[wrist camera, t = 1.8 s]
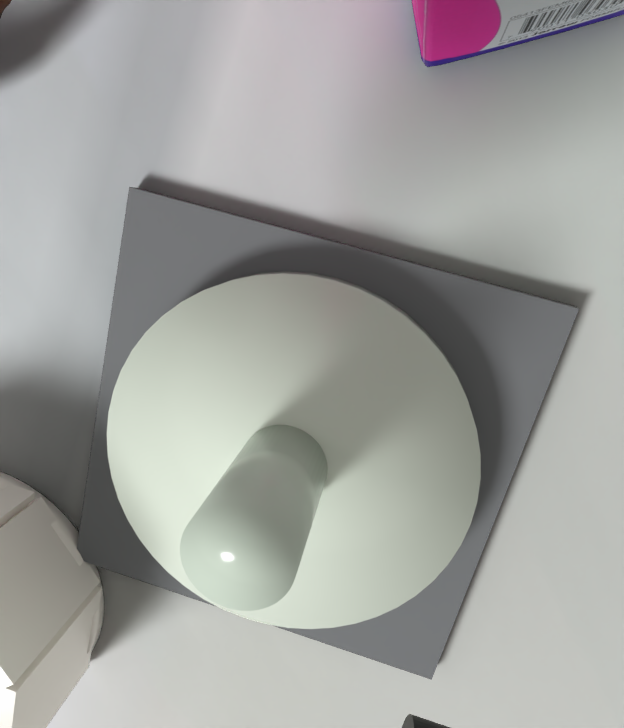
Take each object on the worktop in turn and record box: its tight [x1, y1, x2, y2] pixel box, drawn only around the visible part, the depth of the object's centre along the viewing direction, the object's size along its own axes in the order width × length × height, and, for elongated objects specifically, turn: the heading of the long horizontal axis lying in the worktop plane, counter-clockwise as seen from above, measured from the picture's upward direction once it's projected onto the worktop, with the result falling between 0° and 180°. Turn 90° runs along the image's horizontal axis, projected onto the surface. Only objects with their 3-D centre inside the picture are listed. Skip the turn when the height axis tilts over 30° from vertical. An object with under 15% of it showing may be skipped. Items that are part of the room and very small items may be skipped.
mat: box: [77, 187, 579, 679], centre depth 19 cm, size 14×14×1 cm
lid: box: [107, 271, 481, 629], centre depth 16 cm, size 12×12×6 cm
